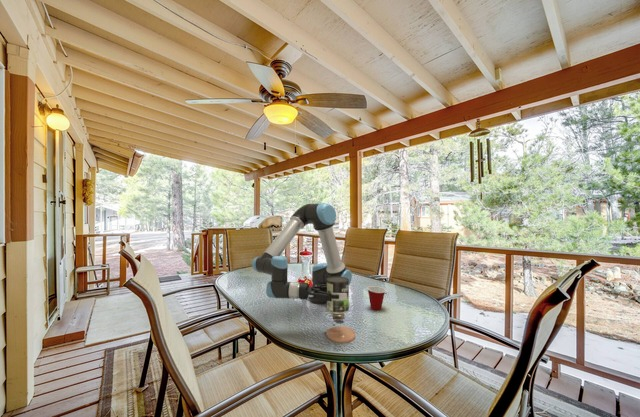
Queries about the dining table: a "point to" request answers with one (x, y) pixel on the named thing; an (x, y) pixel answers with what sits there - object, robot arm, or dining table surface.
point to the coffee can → (338, 287)
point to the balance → (338, 316)
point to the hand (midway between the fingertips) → (347, 292)
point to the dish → (340, 334)
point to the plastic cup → (376, 297)
